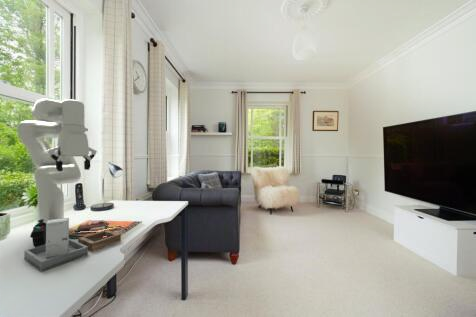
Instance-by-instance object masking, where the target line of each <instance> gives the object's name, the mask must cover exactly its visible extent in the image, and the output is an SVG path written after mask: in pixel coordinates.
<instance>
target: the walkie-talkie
mask: <svg viewBox="0 0 476 317" xmlns="http://www.w3.org/2000/svg"><path fill="white" fill-rule="evenodd" d="M108 225H109V222H107V221H105V220H104V219H101V220H93V221H92V222H90V223H89V222H86V223H84V224H83V223H82V224H79V225H78V227H77V230H74V232H80V231H98V230H103V229H107V228H113V227H114V226H110V225H109V227H107V226H108ZM121 226H122V225H119V226H118V225H117V226H115V227H121ZM121 228H122V227H121Z"/></svg>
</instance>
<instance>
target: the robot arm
mask: <svg viewBox="0 0 476 317" xmlns="http://www.w3.org/2000/svg"><path fill="white" fill-rule="evenodd" d="M30 113H31V114H30V115H31V117H32V118H33V119H35V120H24V121H21V122H19V123H18V124H17V127H16V132H17V136H18V139H19V140H20V142H21V143H22V144H23V145H24V147H26V149H27V150H28V153H29V156H30V158H31V160H32V163H33V165H34V166H35V167H36V169H35V170H34V174H33V175H34V180H35V185H36V191H37V192H36V194H37V224H38V223H39V222H38V220H41V219H44V221H43V222H44V223H47V222H48V220H55V219H64V218H65V210H64V208H65V205H64V204H65V203H64V202H65V200H64V192H63V190H62V189H61V188H60V187H59V186H58V185H64V184H73V183H77V182H79V181H80V179H81V176H82V173H81V169H80V167H79V165H78V163H77V161H76V159H75V157H82V158H83V159H84V162H83V164H84V166H83V168H84V170H86V171H89V170H90V168H91V161H92V160H93V159H94V157H95V156H96V154H97V152H98V151H97V150H95V149H94V148H91V147H90V146H89V140H88V135H87V133H86V132H88V131H89V129H88V127H87V128H86V126H85V104H84V103H83V102H82V101H80V100H77V99H70V98H68V99H63V100H62V101H61V100H55V99H48V98H40V99H37V100H36V102H35V104H34V106H33V107H32V109H31V111H30ZM42 138H45V139H47V138H49V139H57V144H56V146H55V147H51V145H50V144H49V143H48V142H47V141H45V140H44V139H42ZM90 152H91V153H90Z"/></svg>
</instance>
